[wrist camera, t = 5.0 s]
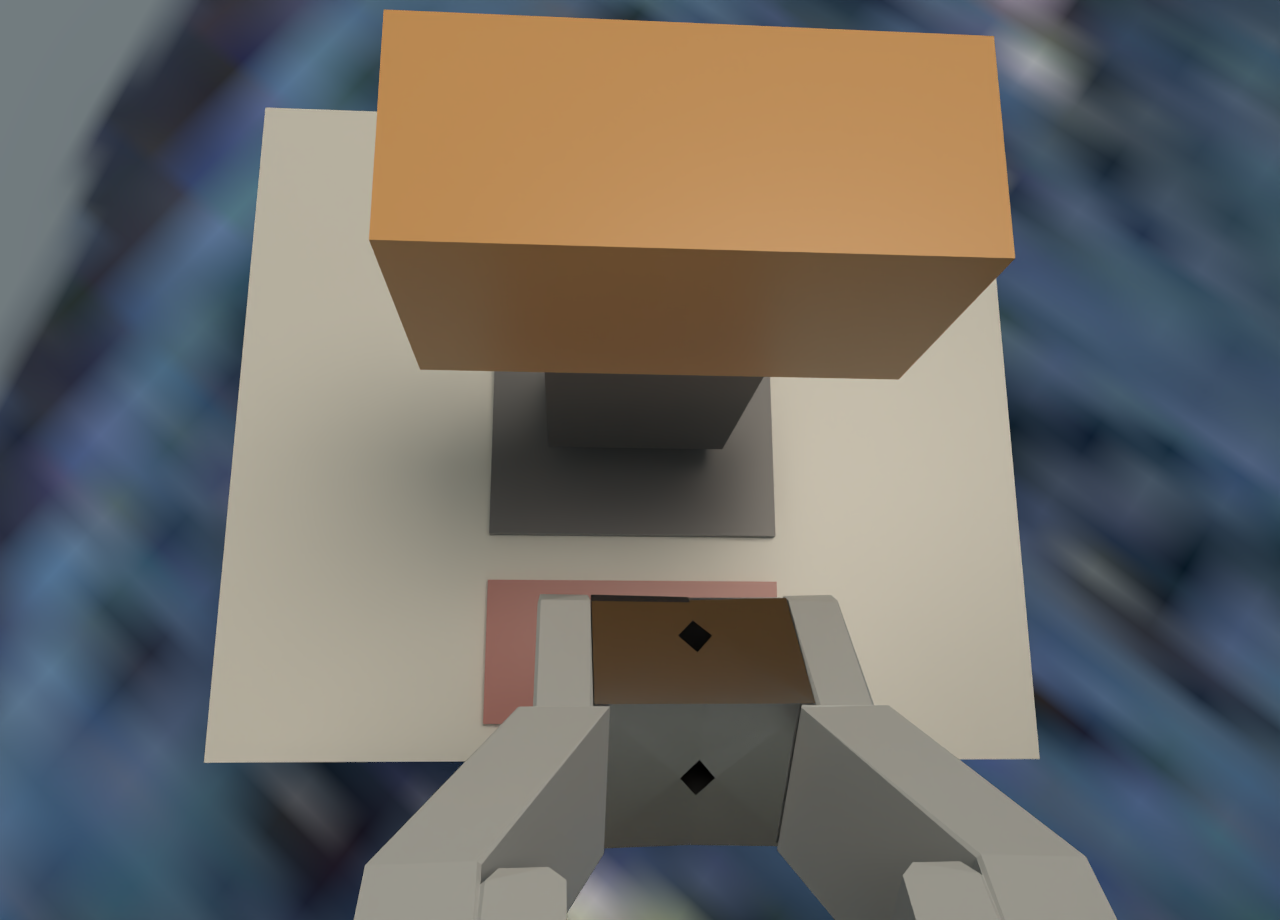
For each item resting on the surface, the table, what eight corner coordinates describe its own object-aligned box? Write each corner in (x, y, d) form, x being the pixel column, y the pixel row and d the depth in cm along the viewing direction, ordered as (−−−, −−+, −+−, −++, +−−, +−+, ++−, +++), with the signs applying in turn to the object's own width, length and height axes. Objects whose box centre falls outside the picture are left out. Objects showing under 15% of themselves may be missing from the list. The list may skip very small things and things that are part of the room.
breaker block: (924, 751, 24) (1044, 759, 18) (284, 754, 23) (187, 763, 17) (892, 261, 27) (986, 128, 21) (323, 245, 26) (252, 101, 20)
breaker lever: (808, 473, 18) (1014, 258, 10) (459, 468, 18) (368, 239, 10) (803, 342, 19) (993, 35, 11) (464, 334, 19) (384, 9, 10)
